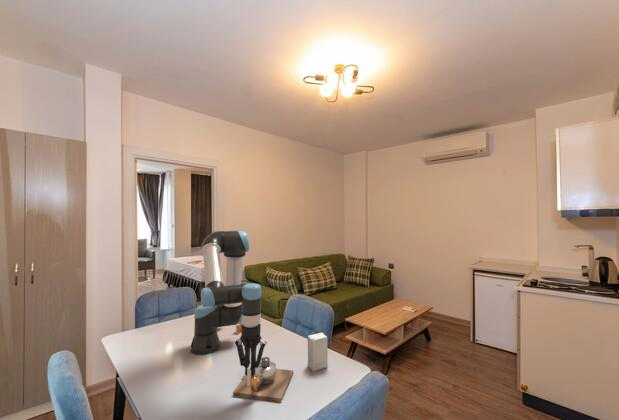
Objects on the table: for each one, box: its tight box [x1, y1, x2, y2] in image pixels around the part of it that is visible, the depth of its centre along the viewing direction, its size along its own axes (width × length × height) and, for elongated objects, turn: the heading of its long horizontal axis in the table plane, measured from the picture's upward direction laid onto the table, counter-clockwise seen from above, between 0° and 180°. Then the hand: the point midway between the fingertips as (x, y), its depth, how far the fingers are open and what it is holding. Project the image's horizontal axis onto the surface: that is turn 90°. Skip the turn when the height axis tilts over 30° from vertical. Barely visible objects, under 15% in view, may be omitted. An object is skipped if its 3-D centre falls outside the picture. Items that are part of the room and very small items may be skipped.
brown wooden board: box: [232, 368, 294, 403], centre depth 118 cm, size 20×20×3 cm
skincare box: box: [307, 332, 329, 372], centre depth 132 cm, size 8×6×15 cm
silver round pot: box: [251, 356, 277, 392], centre depth 115 cm, size 16×9×7 cm, turn 163°
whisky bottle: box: [235, 323, 242, 335], centre depth 177 cm, size 10×6×30 cm
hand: (250, 383), depth 109 cm, fingers closed
